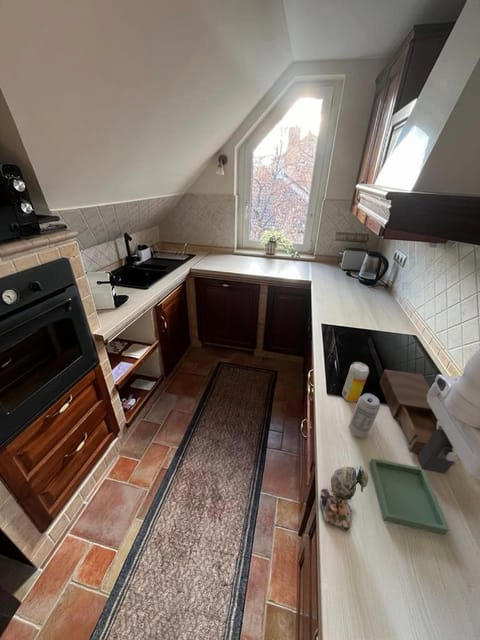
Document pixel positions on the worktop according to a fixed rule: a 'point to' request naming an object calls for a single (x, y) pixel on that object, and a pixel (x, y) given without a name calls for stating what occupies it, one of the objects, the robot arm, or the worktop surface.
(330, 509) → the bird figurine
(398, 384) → the cabinet
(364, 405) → the energy drink can
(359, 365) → the beer can
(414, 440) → the drawer
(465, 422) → the robot arm
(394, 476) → the tray
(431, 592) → the worktop surface
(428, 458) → the dark grey block
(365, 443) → the worktop surface
